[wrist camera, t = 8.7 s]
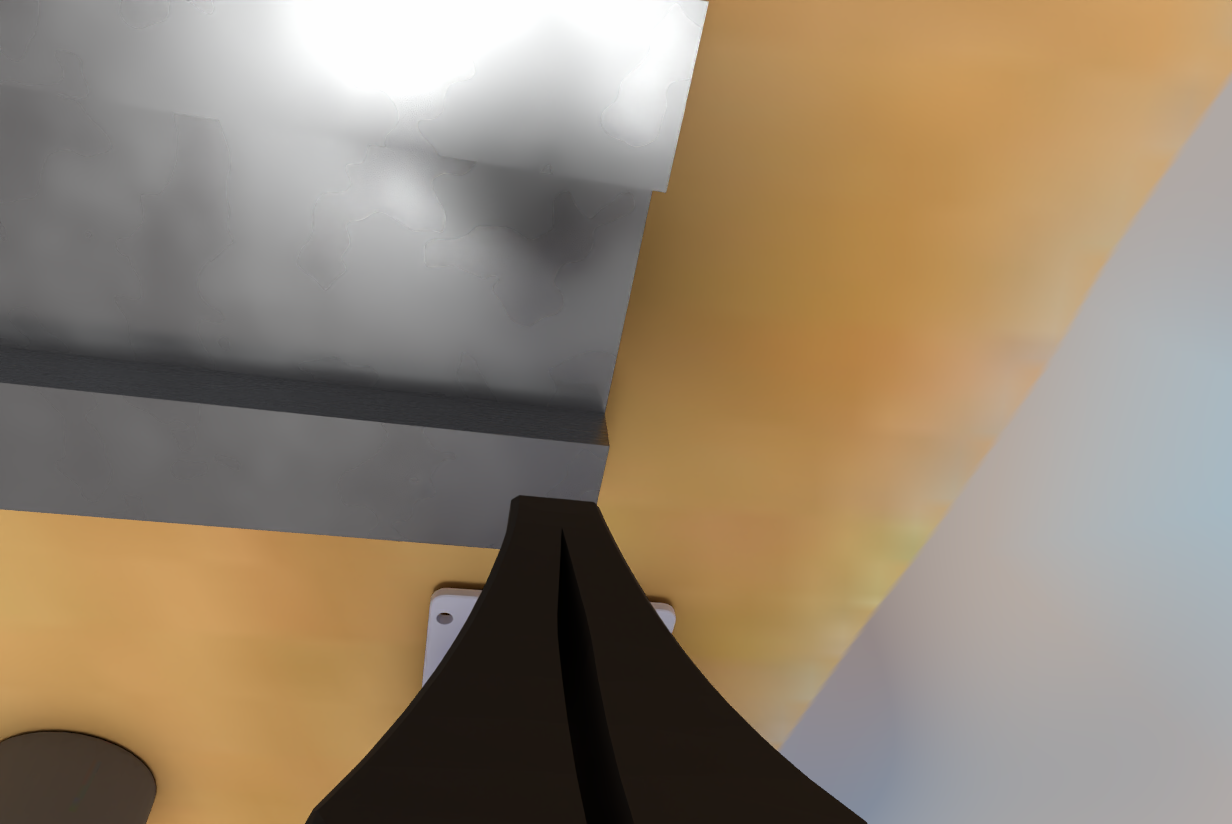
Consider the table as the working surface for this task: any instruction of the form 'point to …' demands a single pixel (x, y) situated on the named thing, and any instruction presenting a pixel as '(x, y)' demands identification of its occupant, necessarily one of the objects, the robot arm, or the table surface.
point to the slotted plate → (323, 254)
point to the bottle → (72, 781)
